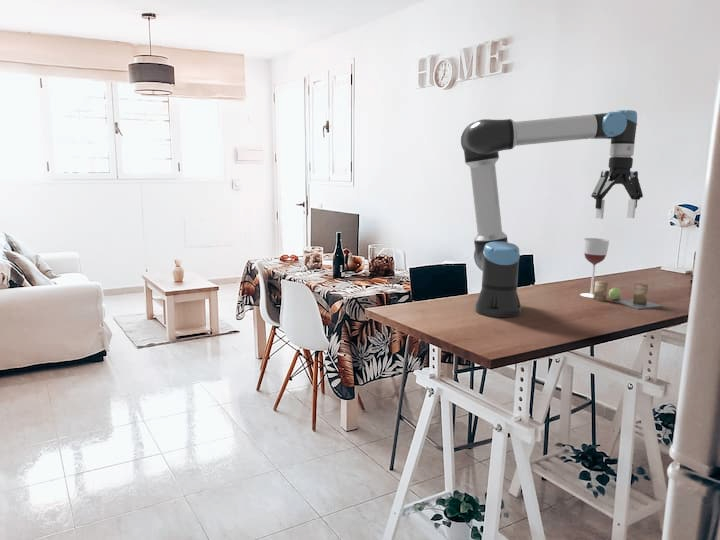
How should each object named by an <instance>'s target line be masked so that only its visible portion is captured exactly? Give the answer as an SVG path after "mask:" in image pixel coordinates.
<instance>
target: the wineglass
mask: <svg viewBox="0 0 720 540" xmlns="http://www.w3.org/2000/svg"><path fill="white" fill-rule="evenodd" d="M609 245H610V240H609V239H606V238H597V237H596V238H595V237H593V238H592V237H589V238H587V237H585V238H583V255H584V258H585V260H587V261H588V262H589V263H591V264H592V270H591V271H592V272H591V282H590V292H584V293H580V294H579V296H581V297H585V298H591V299H594V285H595V272H596V265H597V264H600V263H601V262H603V261H604V260H605V259H606V257H607V254H608V249H609Z"/></svg>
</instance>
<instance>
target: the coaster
mask: <svg viewBox="0 0 720 540" xmlns="http://www.w3.org/2000/svg"><path fill="white" fill-rule="evenodd" d="M633 299H634V298H632V299H617V300H614V302H615V303H616V304H620V305H623V306H626V307H630V308H632V309H636V310H646V309H659V308H661V309H662V307H663V305H661V304H658V303H654V302H651V301H649V300H647V304H636V303H633Z"/></svg>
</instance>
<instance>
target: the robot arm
mask: <svg viewBox="0 0 720 540" xmlns="http://www.w3.org/2000/svg"><path fill="white" fill-rule="evenodd" d="M637 126H638V112H637V111H636V110H633V109H621V110H620V109H619V110H615V111H609V112H605V113H604V112H603V113H595V114H593V113H592V114H584V115H574V116H573V115H571V116H564V117H563V116H562V117H561V116H560V117H551V118H542V119H533V120H532V119H530V120H520V121H514V120H513V119H512V118H507V119H491V118H490V119H487V118H485V119H479V120H476V121H474V122H472V123H470V124H468V125H467V126H466V127H465V128H464V130H463V131H462V133H461V136H460V145H461V148H462V150H463V155H464V163H465V164H466V165H467V166H468V167H469V168H470V169H469V170H470V176H471V185H472V196H473V204H474V205H473V206H474V211H475V214H474V215H475V219H476V220H475V222H476V229H477V230H476V231H477V235H476V236H475V237H474V238H473V241H474V242H473V243H474V253H473V258H474V262H475V265H476V267H477V268H478V269H479V270H480V271H482V278H481V279H482V280H481V281H482V282H481V290H480V291H479V294H478V297H477V300H476V302H475V307H474V308H475V309H474V310H475V312H476V313H478V314H481V315H483V316H487V317H494V318H496V317H497V318H515V317H517V316H520V315H521V314H522V313H521V312H522V306H521V302H520V298H519V294H518V282H519V281H518V279H519V278H518V277H519V265H520V257H521V254H520V248H519V247H518V245H516V244H515V243H510V242H508V241H509V240H508V234H506V233H505V232H504V231H503V228H502V217H501V211H500V210H501V209H500V197H499V190H498V189H499V188H498V181H497V179H498V177H497V170H496V163H497V162H498V160H499V159H500V156H499V152H502V151H509V150H513V149H514V148H515V147H516V146H517V147H518V146H527V145H536V144H538V145H539V144H549V143H558V142H568V141H579V140H588V139H591V140H592V139H595V140H596V139H597V140H601V139H602V140H610V147H609V156H610V157H609V158H608V168H609V170H601V172H600V177H599V179H598V181H597V183H596V184H595V187H594V189H593V190H592V193H591V195H590V196H591V198H593V199H594V200H595V210H596V212H595V213H596V214H595V219H600V220H601V219H602V220H603V219H604V213H605V201H606V199H604V198H605V196H606V195H607V194H608V193H609V191H610V190H611V189H612V188H613V186H614V185H623V187H624V188H625V191H626V192H627V193H628V196H629V198H630V199H628V204H627V213H626V218H627V219H635V214H636V209H637V205H638V200H639V201H640V199H641V198H643V197H644V194H643V191H642V190H643V189H642V187H641V184H640V181H639V180H640V179H639V173H638V171H637V170H631V169H632V168H633V164H634V158H633V157H632V156H634V152H635V151H634V150H635V143H636V141H635V140H636V133H637Z"/></svg>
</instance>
